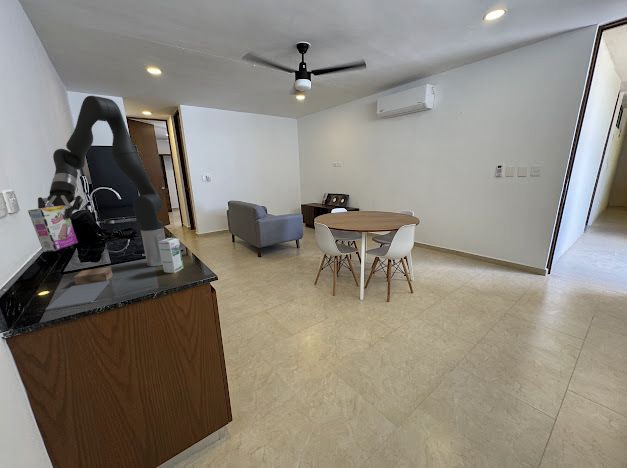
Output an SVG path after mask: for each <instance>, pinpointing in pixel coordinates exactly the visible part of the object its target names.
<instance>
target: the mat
mask: <svg viewBox="0 0 627 468" xmlns="http://www.w3.org/2000/svg"><path fill="white" fill-rule="evenodd" d="M108 284H110V280H108V281H103V282H96V283H90V284H83V285H76V284H75V285H71V286H70V287H69V288H67V290H66V291H65V292H64V293H62V294H61V295H60V296H59V297H58V298H56V299H55V300H54V301H53V302H52V303H51V304H49V305H48V306H47V307H46V308H45V311H46V312H47V311H53V310H59V309H64V308H65V309H66V308H69V307H77V306H83V305H87V304H88V305H89V304H92V303H93V302H94V301H95V300H96V299H97V297H98V296H100V294H101V293H102V292H103V290H105V288H106V287H107V286H108Z"/></svg>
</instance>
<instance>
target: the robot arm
mask: <svg viewBox="0 0 627 468" xmlns="http://www.w3.org/2000/svg"><path fill="white" fill-rule="evenodd" d="M77 116H78V117H77V121H76V124H75V126H74V129H73V132H72V134H71V135H70V137H69V139H68V141H66V144H65V146H66V149H65V148H57V149H55V151H54V152H53V156H52V159H53V163H54V166H55V171H54V172H55V173H54V176H53V178H52V180H51V185H50V189H49V195H48V196H47V197H44V198H42V197H38V198H37V209H40V208H47V207H53V206H63V205H66V208H67V209H66V212H65V217H66V218H67V219H70V220H71V218H72V216H73V212H74V211H75V210H76V211H79V210H80V208H81V206H82V205H83V204H82V203H83V201H84V199H83V198H82V196H81V195H76V190H77V185H78V184H77V183H78V182H77V180H78V174H79V173H78V170H82V169H83V168H84V167H85V164H86V156H87V152H88V151H89V150H90V148H91V147H92V145H93V142H94V134H93V131H92V129H93V126H94V125H95V124H96V123H97V122H98V121H100V122H107V124H108V126H109V128H110V131H111V133H112V144H111V155H112V157H113V160H114V162H115V163H116V166H117V167H118V169H119V170H120V172H121V173H122V174H123V175H124V176H125V177H126V178H127V179H128V180H129V181H130V182H131V183H132V185H134V187H135V189H136V190H137V193H138V194H139V195H138V196H136V197H135V198H134V199H133V204H132V207H133V213H134V216H135V221H136V224H137V225H138V226H139V228H140V234H141V237H142V244H143V245H142V246H143V249H144V254H145V259H146V264H147V266H149V267H158V266H163V263H162V258H161V253H160V248H159V243H158V242H159V241H162V240H165V239H166V234H165V229H164V223H163V221H161V220H159V218H158V215H157V214H158V213H159V212H161V211H162V209H163V205H164V204H163V200H162V198H161V196H160V195H159V193H158V192H157V190H156V188H155V186H154V185H153V183H152V181H151V179H150V176H149V175H148V172H147V171H146V169H145V166H144V164H143V161H142V159H141V157H140V155H139V153H138V150H137V149H136V147H135V145H134V143H133V141H132V138H131V136H130V133H129V131H128V128H127V126H126V123H125V119H124V116H123V115H122V111H121V109H120V107H119V105H118V104H117V103H116V102H115V101H114V100H113V99H110V98H107V97H102V96H99V95H98V96H96V95H87V96H86V97H85V98H84V99H83V102H82V103H81V107H80V110H79V114H78V115H77ZM75 195H76V196H75ZM72 202H73V204H71V203H72Z"/></svg>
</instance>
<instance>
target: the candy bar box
mask: <svg viewBox="0 0 627 468" xmlns="http://www.w3.org/2000/svg"><path fill="white" fill-rule="evenodd" d="M66 209H67V207H66V205H63V206H53V207H47V208H40V209H39V208H35V209H28V210H27V212H28V215H29V217H30V220H31V223H32V225H33V228H34V230H35V233H36V236H37V238H38V241H39V243H40V246H41V249H42V251H43V253H47V252H48V253H49V252H56V251H59V250H62V249H65V248H67V247H70V246H73V245H76V244H79V240H78V238H77V235H76V232H75V230H74V227H73V224H72V220H71V218H70V219H67V218H66V217H65V212H66Z"/></svg>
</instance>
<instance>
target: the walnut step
mask: <svg viewBox="0 0 627 468" xmlns="http://www.w3.org/2000/svg"><path fill="white" fill-rule="evenodd" d="M113 276H114V274H113V272H112V267H111V266H108V267H99V268H93V269H85V270H81V271H79V272H78V273H76V275H74V276H73V280H74V284H75V286H76V285H83V284H90V283H96V282H103V281H110V280H111V278H112V277H113Z"/></svg>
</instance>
